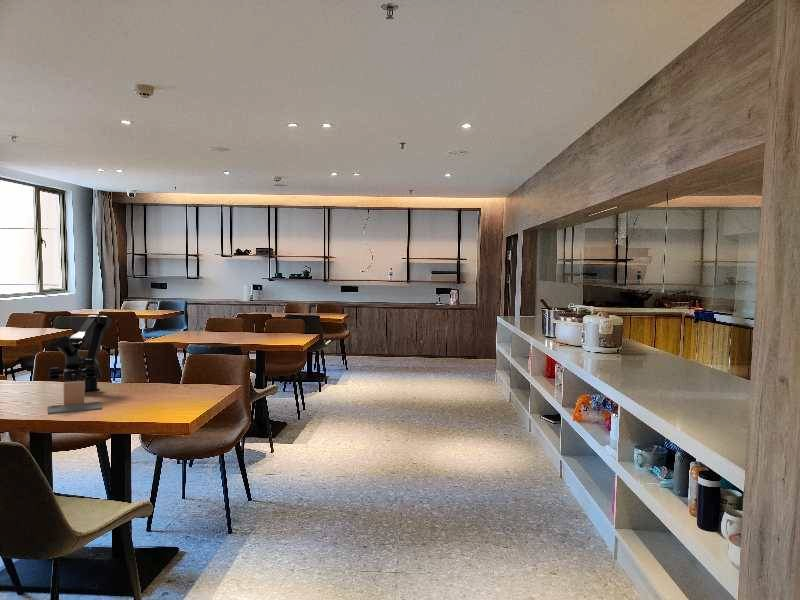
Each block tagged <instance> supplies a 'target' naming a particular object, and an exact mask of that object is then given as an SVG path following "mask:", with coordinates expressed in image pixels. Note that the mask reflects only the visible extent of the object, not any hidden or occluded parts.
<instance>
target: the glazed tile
mask: <svg viewBox="0 0 800 600" xmlns="http://www.w3.org/2000/svg"><path fill="white" fill-rule="evenodd" d="M62 387H63V405H69V404H80V403H85V391H84V388H85V387H84V380H79V381H74V380H73V381H72V382H67V381H63V386H62Z"/></svg>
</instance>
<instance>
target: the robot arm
mask: <svg viewBox="0 0 800 600" xmlns="http://www.w3.org/2000/svg"><path fill="white" fill-rule="evenodd" d="M111 325H112V318H110V316H109V315H94V314H93V315H91V314H90V315H87V317H86V320H85V322H84V323H83V324H82V326H81V327H80V328H79V330H78V331H77V332H76V333H74V334H72V335H70V337H69V336H67V335H66V336H63V337H62V338H60V339H58V340H57V341H56V343H55V345H56V346H55V347H56V348H57V349H58V350H59V352H60V353H61V354H62V355H64V357H65V358H64V359H65V361H64V363H65V365H64V366H65V368H64V369H63V370H60V367H50V368H49V369H48V380H51V381H52V380H58V379H59V378H60V376H63V380H64V381H66V382H72V381H80V380H82V379H84V380H83V381H84V392H93V391H100V388H99V387H98V379H102V376H103V372H102V370H101V368H100V363H99V361H98V357H99V354H100V350H101V347H102V343H103V339H104V335H105V333H107V332H108V330H109V329H110V326H111ZM91 333H92V335H91ZM90 335H91V340H90V344H89V346H88V349H87V355H86V357H84V354H80V351H79V350H85V348H86V347H87V345H88V343H89V341H88V338H89V337H90ZM72 375H73V376H74V377H73V376H72Z"/></svg>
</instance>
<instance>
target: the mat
mask: <svg viewBox="0 0 800 600" xmlns="http://www.w3.org/2000/svg"><path fill="white" fill-rule="evenodd" d="M94 410H103V406H102V403H101V401H92V402H84V403H80V404H69V405H64V404H58V405H48V406H47V415H53V414H65V413H75V412H84V411H85V412H86V411H94Z"/></svg>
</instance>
